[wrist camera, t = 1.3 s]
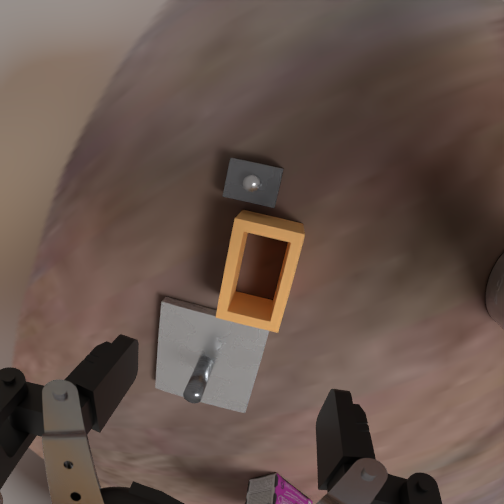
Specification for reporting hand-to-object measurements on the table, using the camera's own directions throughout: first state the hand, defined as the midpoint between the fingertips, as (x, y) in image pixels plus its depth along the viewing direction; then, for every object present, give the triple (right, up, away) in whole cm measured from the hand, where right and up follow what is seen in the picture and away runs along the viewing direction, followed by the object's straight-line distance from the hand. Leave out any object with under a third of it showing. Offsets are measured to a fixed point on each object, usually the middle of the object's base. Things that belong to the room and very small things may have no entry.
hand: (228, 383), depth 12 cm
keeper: (-3, -5, +18) cm, 20 cm away
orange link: (+2, +4, +15) cm, 16 cm away
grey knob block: (+1, +11, +13) cm, 17 cm away
